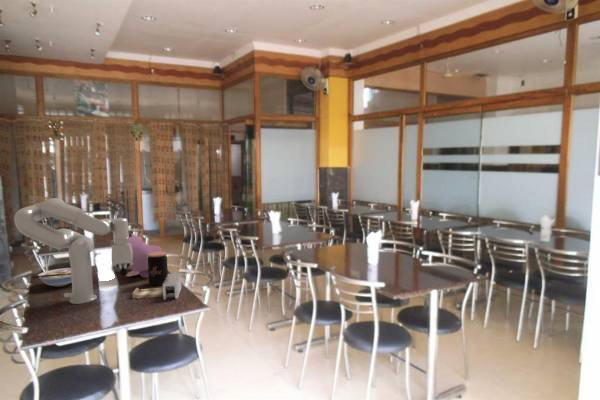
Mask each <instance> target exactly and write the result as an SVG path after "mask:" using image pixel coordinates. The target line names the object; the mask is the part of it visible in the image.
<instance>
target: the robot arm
mask: <svg viewBox="0 0 600 400" xmlns="http://www.w3.org/2000/svg"><path fill="white" fill-rule="evenodd" d="M51 217H52V218H54V219H58V220H60V221H62V222H63V221H64V222H66V223H69V224H71V225H73V226H74V227H78V228H79V229H81V230H84V231H86V232H88V233H90V234H91V233H92V234H94V235H96V236H97V235H98V236H105V235H108V234H109V233H111V232H112V237H113V239H111V240H110V243H111V244H112V246H111V263H112V266H113V267H117V268H118V269H119V270H120V275H121V277H127V276H126V275H127V273H128V268H129V265H132V264H134V257H133V250H132V246H131V243H129V237H130V235H129V221H128V218H125V217H118V218H102V219H98V218H96V217H93V216H90V215H89V214H87V213H86V212H84V210H82V208H79V207H77V206H75V205H71V204H69V203H67V202H65V201H64V200H63V199H61V198H59V197H52V198H49V199H47V200H45V201H42V202H39V203H36V204H32V205H28V206H25V207H22V208H20V209H18V210H17V212H15V214H14V219H13V220H14V221H13V222H14V224H15V227H16V230H17V231H18V232H20V234H22V235H23V236H26V237H28V238H30V239H32V240H34V241H37V242H39V243H41V244H44V245H46V246H48V247H51V248H52V249H55V250H63V249H65V248H66V249H68V258H69V262H70V263H69V265H70V268H71V277H72V283H71V289H72V291H71V292H64V294H63V297H64V299H69V303H71V304H73V305H78V304H79V305H80V304H87V303H90V302H91V303H92V302H94V301H95V300H97V298H98V296H97V294H94V285H93V284H94V283H93V282H94V281H93V267H92V259H91V253H92V251H93V250H94V246H95V244H94V242H93V240H92V239H91V238H90V237H88V236H86V235H84V234H81V233H79V232H77V231H74V230H72V229H69V228H63V227H62V228H59V229H57V228H53V227H51V226H48V225H46V224H43V223H40V222H39V221H41V220H44V219H47V218H51Z"/></svg>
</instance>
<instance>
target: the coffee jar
mask: <svg viewBox="0 0 600 400" xmlns="http://www.w3.org/2000/svg"><path fill="white" fill-rule="evenodd" d="M167 255H168V254H167V252H166V251H162V252H152V253H149V254H148V275H149V277H148V284H149V286H152V287H163V283H164V281H165V279H166V277H167V275H168V274H169V272H168V271H169V270H168V256H167Z"/></svg>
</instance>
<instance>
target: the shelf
mask: <svg viewBox="0 0 600 400" xmlns="http://www.w3.org/2000/svg"><path fill="white" fill-rule="evenodd" d="M182 285H183V284H182V273H181V272H178V273H176V272H175V273H168V275H167V277H166V279H165V281H164V283H163V285H162V288H163V297H162V299H163V300H167V298H174V300H176V299H177V300H178V299H179V296H180V292H181V290H182ZM166 287H167V288H166ZM167 291H173V292H172V293H171V292H170V293H167Z"/></svg>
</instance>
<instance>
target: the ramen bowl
mask: <svg viewBox="0 0 600 400" xmlns="http://www.w3.org/2000/svg"><path fill="white" fill-rule="evenodd" d="M31 278H32V279H39V280H40V281H41V282H42V283H43V284H45V285H47V286H51V287H52V286H53V287H56V288H59V287H60V288H61V287H66V286H68V285H69V284H70V285H71V284H72V277H71V267H65V268H64V267H63V268H56V269H50V270H47V271H43V272H41V273H39V274H37V275H33V276H31Z"/></svg>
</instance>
